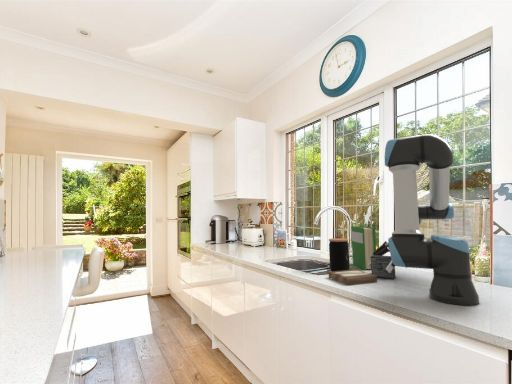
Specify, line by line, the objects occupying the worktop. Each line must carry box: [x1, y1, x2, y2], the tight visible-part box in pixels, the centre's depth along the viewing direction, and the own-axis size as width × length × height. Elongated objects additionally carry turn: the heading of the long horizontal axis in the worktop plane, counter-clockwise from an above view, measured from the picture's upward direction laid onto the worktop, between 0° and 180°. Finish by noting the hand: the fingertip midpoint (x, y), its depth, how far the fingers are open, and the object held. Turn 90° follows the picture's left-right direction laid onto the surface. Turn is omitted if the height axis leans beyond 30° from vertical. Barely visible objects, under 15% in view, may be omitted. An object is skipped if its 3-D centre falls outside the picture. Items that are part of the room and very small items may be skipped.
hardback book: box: [350, 225, 377, 272], centre depth 167 cm, size 18×7×24 cm, turn 1°
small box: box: [370, 255, 396, 280], centre depth 141 cm, size 11×6×10 cm, turn 58°
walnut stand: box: [328, 268, 378, 286], centre depth 137 cm, size 16×16×3 cm
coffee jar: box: [328, 237, 351, 272], centre depth 157 cm, size 11×11×18 cm
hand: (378, 268), depth 140 cm, fingers closed on small box, 11 cm apart
